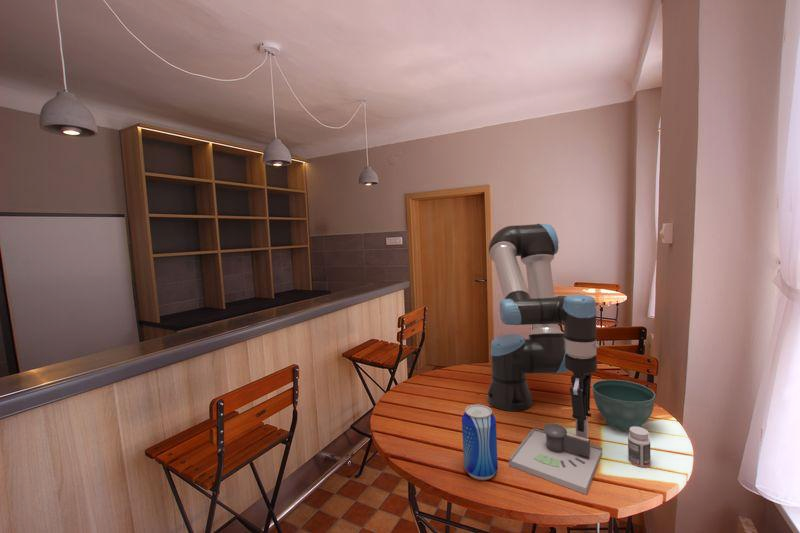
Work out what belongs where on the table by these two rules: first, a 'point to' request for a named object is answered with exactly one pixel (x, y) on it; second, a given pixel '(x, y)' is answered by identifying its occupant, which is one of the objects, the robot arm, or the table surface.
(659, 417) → the table surface
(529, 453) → the tuner board
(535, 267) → the robot arm
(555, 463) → the green curved panel
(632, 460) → the pill bottle
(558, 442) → the tuner knob
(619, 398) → the flower pot
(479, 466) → the beer can
